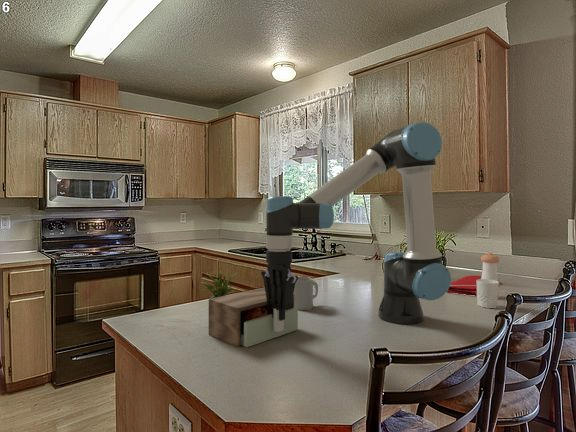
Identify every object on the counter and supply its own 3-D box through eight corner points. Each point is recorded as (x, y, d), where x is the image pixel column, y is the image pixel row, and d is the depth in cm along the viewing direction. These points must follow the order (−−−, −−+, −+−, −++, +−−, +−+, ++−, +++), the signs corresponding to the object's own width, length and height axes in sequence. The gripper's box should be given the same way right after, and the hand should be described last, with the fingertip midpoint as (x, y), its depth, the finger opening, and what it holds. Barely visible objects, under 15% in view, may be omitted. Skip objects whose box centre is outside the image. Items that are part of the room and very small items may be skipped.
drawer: (297, 329, 121) (297, 308, 120) (246, 347, 106) (246, 322, 105) (265, 319, 131) (265, 299, 131) (215, 334, 116) (215, 312, 116)
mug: (299, 311, 141) (300, 282, 141) (286, 306, 148) (286, 278, 148) (324, 306, 149) (324, 278, 148) (310, 301, 155) (310, 274, 155)
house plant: (227, 306, 147) (227, 264, 146) (250, 314, 137) (250, 269, 137) (194, 314, 137) (194, 268, 136) (216, 323, 127) (216, 274, 127)
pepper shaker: (494, 300, 161) (495, 254, 160) (476, 296, 166) (477, 252, 166) (501, 297, 166) (502, 253, 165) (483, 294, 171) (485, 251, 170)
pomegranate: (241, 336, 118) (255, 323, 111) (237, 313, 122) (250, 300, 115) (262, 334, 122) (277, 322, 115) (257, 313, 126) (271, 299, 119)
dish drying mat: (499, 283, 197) (499, 276, 196) (478, 298, 165) (478, 290, 165) (466, 279, 207) (467, 272, 207) (440, 292, 175) (441, 284, 175)
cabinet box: (294, 327, 123) (294, 294, 123) (237, 346, 107) (238, 308, 106) (264, 318, 133) (264, 287, 132) (208, 334, 116) (208, 299, 116)
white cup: (500, 306, 151) (501, 281, 151) (495, 310, 145) (495, 284, 145) (479, 302, 156) (480, 278, 156) (472, 306, 151) (473, 281, 150)
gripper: (304, 250, 109) (304, 332, 110) (272, 246, 118) (272, 322, 119) (286, 253, 104) (285, 339, 104) (254, 248, 113) (253, 328, 113)
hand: (278, 330), depth 112 cm, fingers closed
